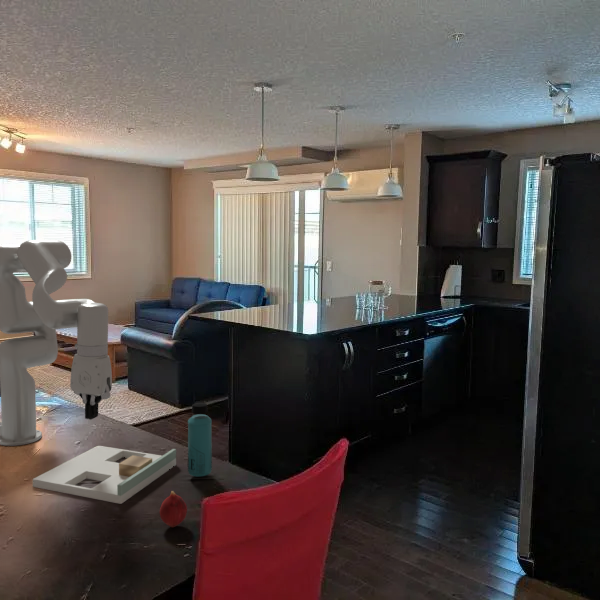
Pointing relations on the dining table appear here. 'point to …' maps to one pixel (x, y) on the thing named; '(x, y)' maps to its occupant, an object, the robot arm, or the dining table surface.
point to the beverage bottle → (199, 441)
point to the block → (133, 465)
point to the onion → (173, 510)
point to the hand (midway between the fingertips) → (91, 417)
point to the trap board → (104, 474)
